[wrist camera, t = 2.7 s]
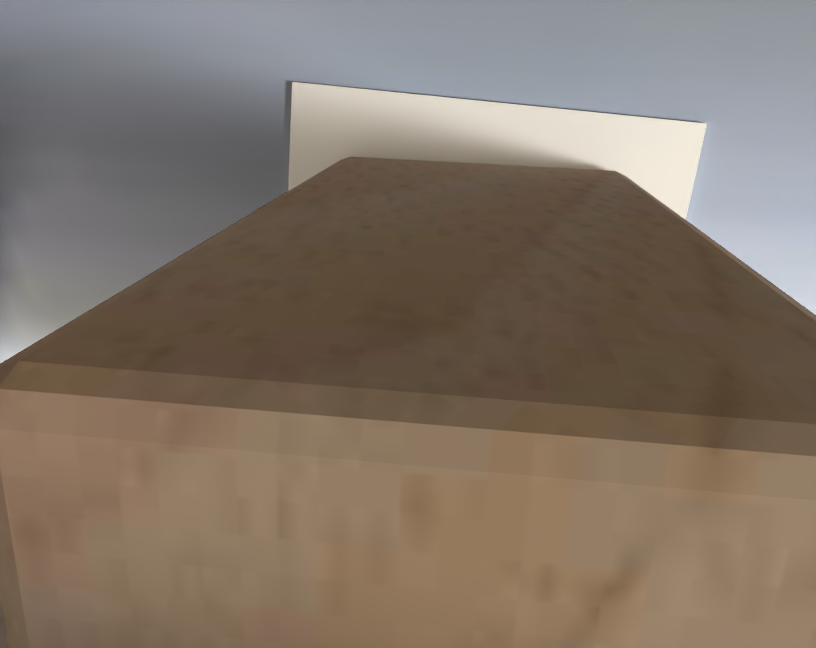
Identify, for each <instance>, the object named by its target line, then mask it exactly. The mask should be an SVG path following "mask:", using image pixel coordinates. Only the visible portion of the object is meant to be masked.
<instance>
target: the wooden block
mask: <svg viewBox="0 0 816 648" xmlns="http://www.w3.org/2000/svg"><path fill="white" fill-rule="evenodd" d="M0 599H1V605H2V611H3V617H4V622H5V628H6V634H7V640H8V646H9V648H816V315H815V314H813V313H812V312H810V311H809V310H808V309H806V308H805V307H804V306H802V305H801V304H800V303H798V302H797V301H795V300H794V299H793V298H791V297H790V296H789V295H787V294H786V293H785V292H783V291H782V290H780V289H779V288H778V287H776V286H775V285H774V284H772V283H771V282H770V281H768V280H767V279H765V278H764V277H763V276H761V275H760V274H759V273H757V272H756V271H755V270H753V269H752V268H750V267H749V266H748V265H746V264H745V263H744V262H742V261H741V260H740V259H738V258H737V257H735V256H734V255H733V254H731V253H730V252H729V251H727V250H726V249H725V248H723V247H722V246H720V245H719V244H718V243H716V242H715V241H714V240H712V239H711V238H710V237H708V236H707V235H705V234H704V233H703V232H701V231H700V230H699V229H697V228H696V227H695V226H693V225H692V224H690V223H689V222H688V221H686V220H685V219H684V218H682V217H681V216H680V215H678V214H677V213H675V212H674V211H673V210H671V209H670V208H669V207H667V206H666V205H665V204H663V203H662V202H660V201H659V200H658V199H656V198H655V197H654V196H652V195H651V194H650V193H648V192H647V191H645V190H644V189H643V188H641V187H640V186H639V185H637V184H636V183H635V182H633V181H632V180H631V179H629V178H628V177H626V176H625V175H623V174H621V173H619V172H617V171H609V170H590V169H571V168H553V167H534V166H515V165H497V164H478V163H459V162H441V161H422V160H404V159H385V158H366V157H347V158H345V159H342V160H340V161H338V162H336V163H335V164H333V165H331V166H330V167H328V168H326V169H324V170H323V171H321V172H319V173H318V174H316V175H314V176H313V177H311V178H309V179H308V180H306V181H304V182H303V183H301V184H299V185H298V186H296V187H294V188H293V189H291V190H289V191H288V192H286V193H284V194H283V195H281V196H279V197H278V198H276V199H274V200H273V201H271V202H269V203H268V204H266V205H264V206H263V207H261V208H259V209H258V210H256V211H254V212H253V213H251V214H249V215H248V216H246V217H244V218H243V219H241V220H239V221H238V222H236V223H234V224H233V225H231V226H229V227H228V228H226V229H224V230H223V231H221V232H219V233H218V234H216V235H214V236H213V237H211V238H209V239H208V240H206V241H204V242H203V243H201V244H199V245H198V246H196V247H194V248H193V249H191V250H189V251H188V252H186V253H184V254H183V255H181V256H179V257H178V258H176V259H174V260H173V261H171V262H169V263H168V264H166V265H164V266H163V267H161V268H159V269H158V270H156V271H154V272H153V273H151V274H149V275H148V276H146V277H144V278H143V279H141V280H139V281H138V282H136V283H134V284H133V285H131V286H129V287H128V288H126V289H124V290H123V291H121V292H119V293H118V294H116V295H114V296H113V297H111V298H109V299H108V300H106V301H104V302H103V303H101V304H99V305H98V306H96V307H94V308H93V309H91V310H89V311H88V312H86V313H84V314H83V315H81V316H79V317H78V318H76V319H74V320H73V321H71V322H69V323H68V324H66V325H64V326H63V327H61V328H59V329H58V330H56V331H54V332H53V333H51V334H49V335H48V336H46V337H44V338H43V339H41V340H39V341H38V342H36V343H34V344H33V345H31V346H29V347H28V348H26V349H24V350H23V351H21V352H19V353H18V354H16V355H14V356H13V357H11V358H9V359H8V360H6V361H4V362H2V363H1V364H0Z"/></svg>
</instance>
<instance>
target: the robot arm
mask: <svg viewBox="0 0 816 648" xmlns="http://www.w3.org/2000/svg"><path fill="white" fill-rule="evenodd" d="M0 648H9V646H8V640H7V634H6V628H5V622H4V617H3V611H2V605H1V599H0Z"/></svg>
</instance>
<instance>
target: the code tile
mask: <svg viewBox="0 0 816 648" xmlns="http://www.w3.org/2000/svg"><path fill="white" fill-rule="evenodd" d="M706 126H707V124H706V123H698V122H688V121H678V120H668V119H658V118H648V117H638V116H628V115H618V114H608V113H598V112H588V111H578V110H568V109H558V108H548V107H538V106H529V105H519V104H509V103H499V102H489V101H479V100H469V99H459V98H449V97H439V96H429V95H419V94H409V93H399V92H389V91H379V90H369V89H359V88H349V87H340V86H330V85H320V84H310V83H300V82H292V100H291V127H290V154H289V180H288V191H289V190H291V189H293V188H294V187H296V186H298V185H299V184H301V183H303V182H304V181H306V180H308V179H309V178H311V177H313V176H314V175H316V174H318V173H319V172H321V171H323V170H324V169H326V168H328V167H330V166H331V165H333V164H335V163H336V162H338V161H340V160H342V159H345V158H347V157H366V158H385V159H404V160H422V161H441V162H459V163H478V164H497V165H515V166H534V167H553V168H571V169H590V170H609V171H617V172H619V173H621V174H623V175H625V176H626V177H628V178H629V179H631V180H632V181H633V182H635V183H636V184H637V185H639V186H640V187H641V188H643V189H644V190H645V191H647V192H648V193H650V194H651V195H652V196H654V197H655V198H656V199H658V200H659V201H660V202H662V203H663V204H665V205H666V206H667V207H669V208H670V209H671V210H673V211H674V212H675V213H677V214H678V215H680V216H681V217H682V218H684V219H685V220H686V216H687V211H688V207H689V202H690V198H691V193H692V189H693V184H694V180H695V175H696V171H697V166H698V162H699V157H700V153H701V148H702V144H703V139H704V135H705V130H706Z"/></svg>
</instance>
